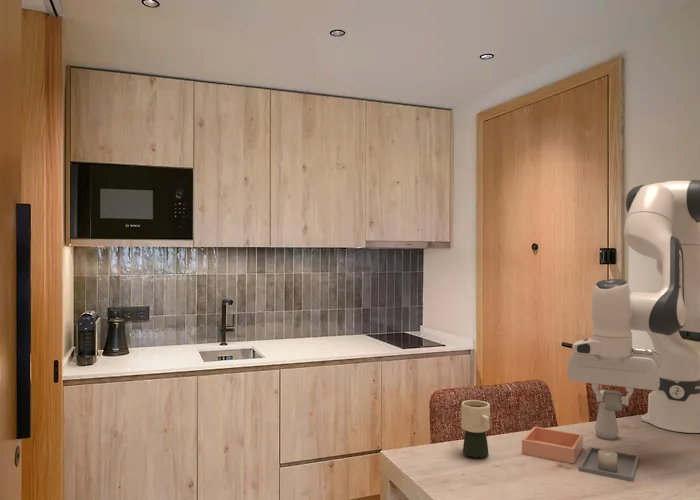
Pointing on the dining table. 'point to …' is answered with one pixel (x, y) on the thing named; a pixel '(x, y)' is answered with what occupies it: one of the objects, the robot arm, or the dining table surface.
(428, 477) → the dining table surface
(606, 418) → the salt shaker
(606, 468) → the pebble
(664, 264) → the robot arm
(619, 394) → the pebble
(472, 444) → the character mug
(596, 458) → the tray
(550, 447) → the open box
